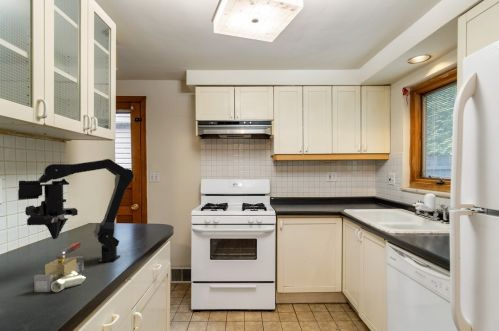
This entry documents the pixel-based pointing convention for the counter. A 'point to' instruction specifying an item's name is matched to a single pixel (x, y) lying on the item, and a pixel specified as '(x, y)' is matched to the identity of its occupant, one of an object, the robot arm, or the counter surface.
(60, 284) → the pipe fitting
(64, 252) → the lever
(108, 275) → the counter surface
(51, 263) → the valve
